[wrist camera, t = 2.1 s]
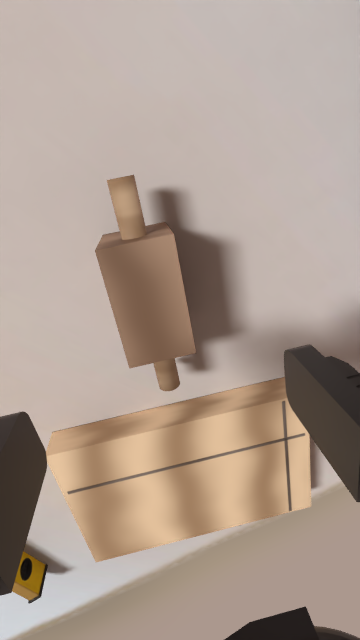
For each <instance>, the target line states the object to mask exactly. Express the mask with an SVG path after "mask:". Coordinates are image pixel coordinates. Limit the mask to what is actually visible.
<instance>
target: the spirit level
mask: <svg viewBox="0 0 360 640" xmlns="http://www.w3.org/2000/svg"><path fill="white" fill-rule="evenodd" d="M47 566H48V565H47V564H46V565H45V564H43V563H42V562H40V561H38V560H37V559H35V558H33V557H32V556H30V555H29V554H27V553H25V552H24V551H23V554H22V557H21V561H20V564H19V568H18V571H17V575H16V579H15V582H14V586H13V589H12V591H13V592H15V593H16V594H18V595H20V596H22V597H24V598H26V599H28V600H29V602H28V603H32V602H33V601H35V600H37V599H38V598H40V597H41V594H42V589H43V585H44V580H45V575H46V571H47Z"/></svg>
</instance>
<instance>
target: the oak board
mask: <svg viewBox="0 0 360 640" xmlns="http://www.w3.org/2000/svg"><path fill="white" fill-rule="evenodd" d="M46 456H47V462H48V464H49V467H50V469H51V471H52V473H53V475H54V477H55V479H56V481H57V483H58V485H59V487H60V489H61V491H62V493H63V495H64V497H65V500H66V502H67V504H68V506H69V508H70V510H71V512H72V514H73V516H74V518H75V520H76V522H77V524H78V526H79V528H80V530H81V533H82V535H83V537H84V539H85V541H86V543H87V545H88V547H89V549H90V551H91V553H92V555H93V557H94V559H95V561H96V562H99V561H103V560H107V559H111V558H115V557H118V556H122V555H126V554H130V553H134V552H138V551H142V550H145V549H149V548H153V547H157V546H161V545H165V544H169V543H172V542H176V541H180V540H184V539H188V538H192V537H196V536H199V535H203V534H207V533H211V532H215V531H219V530H223V529H226V528H230V527H234V526H238V525H242V524H246V523H250V522H253V521H257V520H261V519H265V518H269V517H273V516H277V515H280V514H284V513H288V512H292V511H296V510H300V509H304V508H307V507H311V478H310V435H309V433H308V432H307V430H306V429H305V427H304V426H303V425H302V423H301V422H300V420H299V419H298V417H297V416H296V415H295V413H294V412H293V410H292V408H291V406H290V404H289V402H288V399H287V395H286V386H285V377H283V378H279V379H274V380H270V381H266V382H262V383H258V384H253V385H249V386H245V387H241V388H237V389H232V390H228V391H224V392H220V393H216V394H211V395H207V396H203V397H199V398H195V399H190V400H186V401H182V402H178V403H174V404H169V405H165V406H161V407H157V408H153V409H148V410H144V411H140V412H136V413H131V414H127V415H123V416H119V417H115V418H110V419H106V420H102V421H98V422H94V423H89V424H85V425H81V426H77V427H73V428H68V429H64V430H60V431H56V432H52V435H51V438H50V441H49V444H48V448H47V451H46Z"/></svg>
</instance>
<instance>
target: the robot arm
mask: <svg viewBox="0 0 360 640" xmlns="http://www.w3.org/2000/svg"><path fill="white" fill-rule="evenodd" d="M284 368H285V386H286V395H287V399H288V402H289V404H290V406H291V408H292V410H293V412H294V413H295V415H296V416H297V417H298V419H299V420H300V422H301V423H302V425H303V426H304V427H305V429H306V430H307V432H308V433H309V435H310V436H311V437H312V439H313V440H314V442H315V443H316V444H317V446H318V447H319V449H320V450H321V452H322V453H323V454H324V456H325V457H326V459H327V460H328V462H329V463H330V464H331V466H332V467H333V469H334V470H335V472H336V473H337V474H338V476H339V477H340V479H341V480H342V482H343V483H344V484H345V486H346V487H347V489H348V490H349V492H350V493H351V494H352V496H353V497H354V499H355V500H356V502H360V373H359V372H358V371H356V370H355V369H354V368H353V367H352V366H350V365H349V364H348V363H346V362H344V361H341V360H339V359H337V358H334V357H332V356H330V357H326V358H325V357H324V356H323V355H321V354H320V353H319V352H318V351H317V350H316V349H315V348H314V347H313V346H311V345H305V346H301V347H297V348H292V349H288V350H285V352H284ZM46 469H47V456H46V451H45V449H44V446H43V444H42V442H41V440H40V438H39V436H38V434H37V432H36V430H35V428H34V426H33V423H32V421H31V419H30V417H29V415H28V414H27V413H26V412H19V413H15V414H10V415H6V416H2V417H0V595H4V594H8V593H12V589H13V586H14V582H15V579H16V575H17V571H18V568H19V564H20V561H21V557H22V554H23V550H24V547H25V543H26V540H27V536H28V533H29V529H30V526H31V522H32V519H33V515H34V512H35V508H36V505H37V501H38V498H39V494H40V491H41V487H42V484H43V480H44V477H45V473H46ZM225 640H360V638H357V637H356V636H353V635H350V634H348V633H345V632H342V631H339V630H335V629H330V628H326V627H317V626H314V625H313V623H312V621H311V618H310V616H309V613H308V611H307V608H306V607H302V608H299V609H296V610H292V611H288V612H285V613H281V614H277V615H274V616H270V617H267V618H263V619H260V620H256V621H253V622H249V623H248V624H247V625H245V626H244V627H242V628H241V629H239V630H238V631H236V632H235V633H233V634H232V635H230V636H229V637H228V638H226V639H225Z"/></svg>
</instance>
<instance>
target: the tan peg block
mask: <svg viewBox="0 0 360 640" xmlns="http://www.w3.org/2000/svg"><path fill="white" fill-rule="evenodd" d="M107 183H108V187H109V191H110V195H111V198H112V202H113V206H114V210H115V214H116V218H117V222H118V226H119V230H120V231H119V232H115V233H110V234H105V235H103V236H102V238H101V240H100V242H99V244H98V246H97V248H96V250H95V252H96V256H97V259H98V262H99V266H100V269H101V273H102V276H103V280H104V283H105V286H106V290H107V293H108V297H109V300H110V303H111V307H112V310H113V314H114V317H115V320H116V324H117V327H118V331H119V334H120V338H121V341H122V344H123V348H124V351H125V355H126V358H127V361H128V365H129V368H133V367H137V366H142V365H146V364H150V363H154V367H155V371H156V375H157V379H158V383H159V387H160V389H161V390H163V391H172V390H174V389H176V388H177V387H178V386H179V385H180V381H179V376H178V372H177V367H176V363H175V358H176V357H181V356H185V355H189V354H194V353H196V349H195V344H194V338H193V333H192V328H191V322H190V317H189V312H188V306H187V301H186V296H185V291H184V285H183V280H182V275H181V269H180V264H179V259H178V253H177V248H176V243H175V237H174V233H173V232H172V231H171V229H170V228H169V227H168V225H167V224H166V223H165V222H162V223H157V224H153V225H148V226H145V223H144V218H143V214H142V209H141V205H140V200H139V196H138V191H137V187H136V182H135V178H134V175H131V176H126V177H121V178H116V179H111V180H107Z"/></svg>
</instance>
